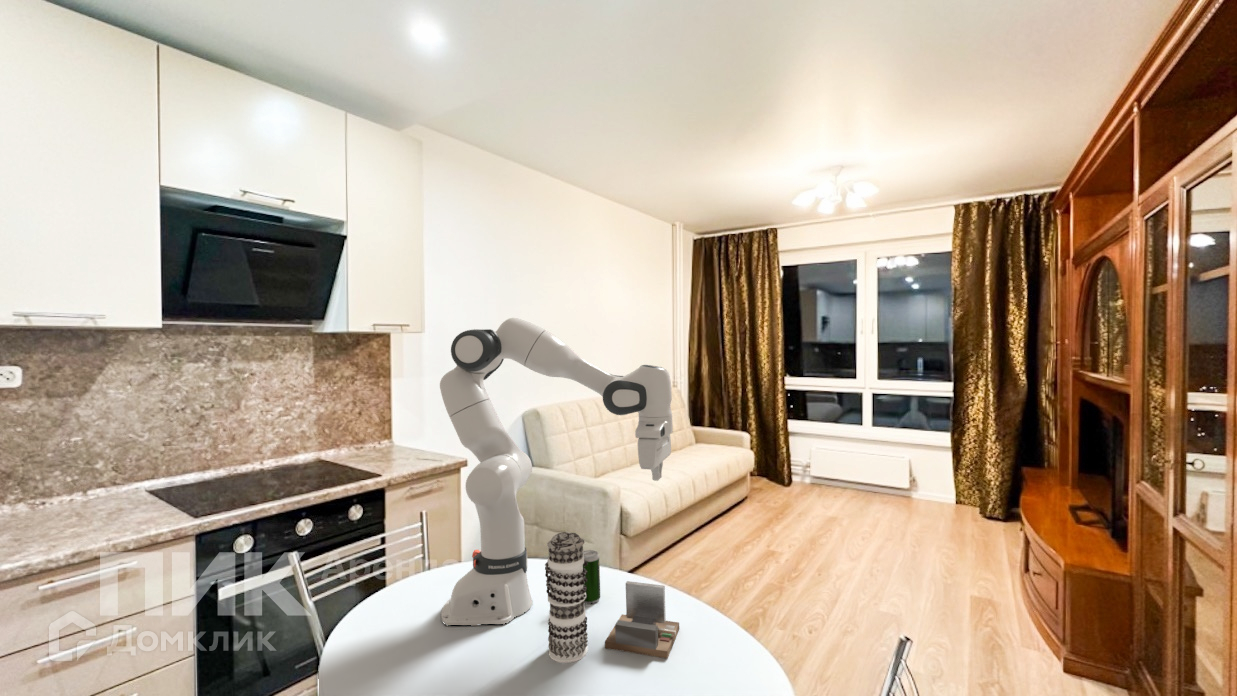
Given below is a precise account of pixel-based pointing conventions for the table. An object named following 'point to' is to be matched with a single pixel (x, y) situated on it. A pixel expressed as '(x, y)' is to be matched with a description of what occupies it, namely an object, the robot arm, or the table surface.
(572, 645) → the decorative candle
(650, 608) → the brushed metal plate
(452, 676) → the table surface
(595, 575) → the green soda can
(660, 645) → the base
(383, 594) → the table surface
